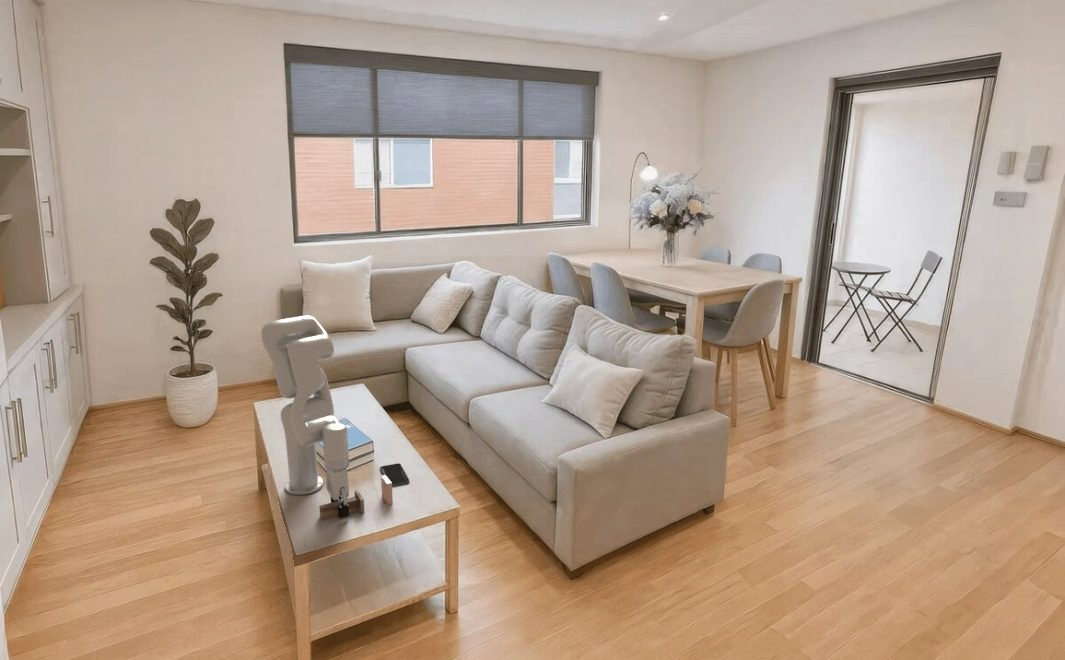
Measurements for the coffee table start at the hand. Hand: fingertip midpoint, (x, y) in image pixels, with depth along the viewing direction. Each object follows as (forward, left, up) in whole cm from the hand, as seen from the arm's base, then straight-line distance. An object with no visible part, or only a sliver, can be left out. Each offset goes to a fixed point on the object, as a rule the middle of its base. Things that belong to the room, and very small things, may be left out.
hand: (339, 510), depth 204 cm
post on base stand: (0, 0, -1) cm, 1 cm away
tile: (0, +16, -1) cm, 16 cm away
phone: (-15, +24, -2) cm, 28 cm away
